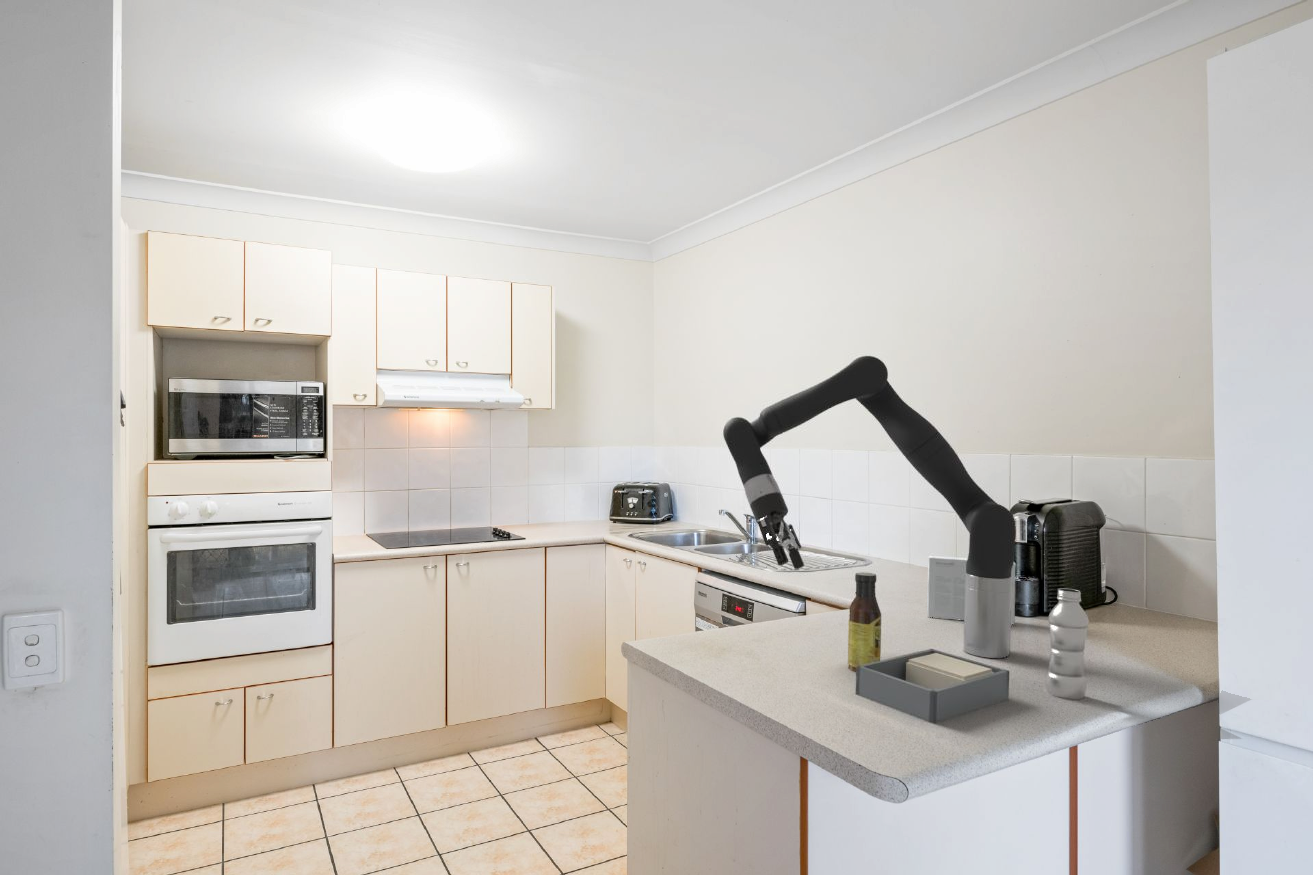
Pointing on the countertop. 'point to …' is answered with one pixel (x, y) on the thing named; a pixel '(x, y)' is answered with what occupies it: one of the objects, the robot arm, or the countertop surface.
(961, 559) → the skincare box
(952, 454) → the robot arm
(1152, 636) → the countertop surface
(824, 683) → the countertop surface
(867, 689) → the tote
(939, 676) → the cream rectangular box
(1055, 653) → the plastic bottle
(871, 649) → the sauce bottle
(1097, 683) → the countertop surface
